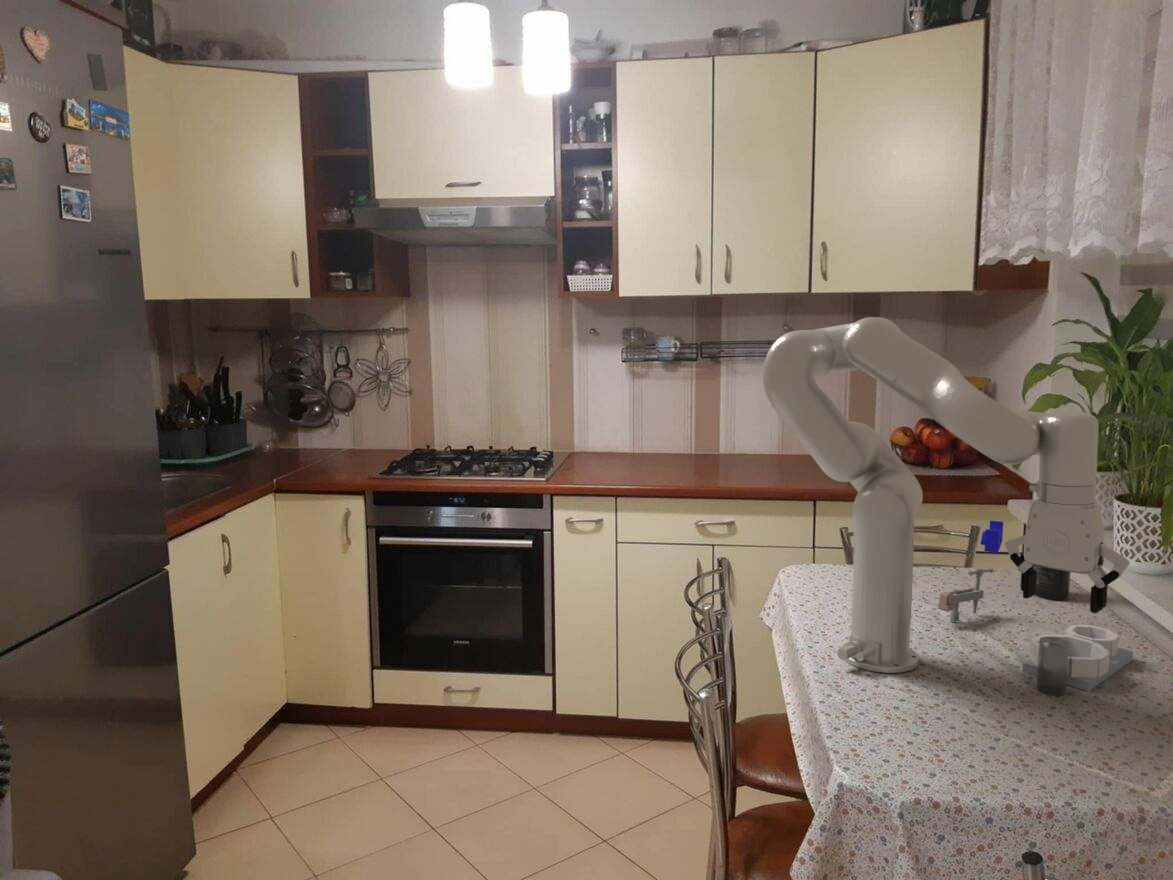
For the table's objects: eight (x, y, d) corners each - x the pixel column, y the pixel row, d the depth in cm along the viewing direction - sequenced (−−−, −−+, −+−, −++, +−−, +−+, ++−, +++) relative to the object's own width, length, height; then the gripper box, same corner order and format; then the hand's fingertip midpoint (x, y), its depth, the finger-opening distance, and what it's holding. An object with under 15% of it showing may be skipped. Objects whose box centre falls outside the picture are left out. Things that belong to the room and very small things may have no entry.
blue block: (982, 542, 219) (984, 519, 219) (1002, 544, 217) (1003, 521, 216) (977, 553, 209) (979, 529, 208) (997, 555, 207) (999, 531, 206)
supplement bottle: (1049, 589, 180) (1053, 534, 179) (1076, 598, 174) (1080, 542, 172) (1024, 592, 178) (1027, 537, 177) (1051, 602, 172) (1055, 545, 170)
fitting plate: (1090, 692, 130) (1092, 665, 130) (1019, 671, 138) (1021, 645, 138) (1134, 660, 142) (1136, 634, 142) (1067, 642, 151) (1069, 618, 150)
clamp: (946, 626, 157) (951, 575, 156) (935, 623, 159) (940, 572, 158) (991, 617, 166) (997, 567, 165) (981, 614, 168) (986, 565, 167)
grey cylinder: (1059, 698, 128) (1062, 648, 127) (1031, 689, 132) (1035, 641, 130) (1069, 690, 131) (1073, 642, 130) (1042, 682, 134) (1046, 634, 133)
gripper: (997, 490, 131) (993, 596, 133) (1121, 506, 118) (1115, 623, 120) (1018, 484, 136) (1015, 586, 138) (1140, 498, 122) (1134, 611, 125)
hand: (1062, 603), depth 129 cm, fingers open, 9 cm apart
